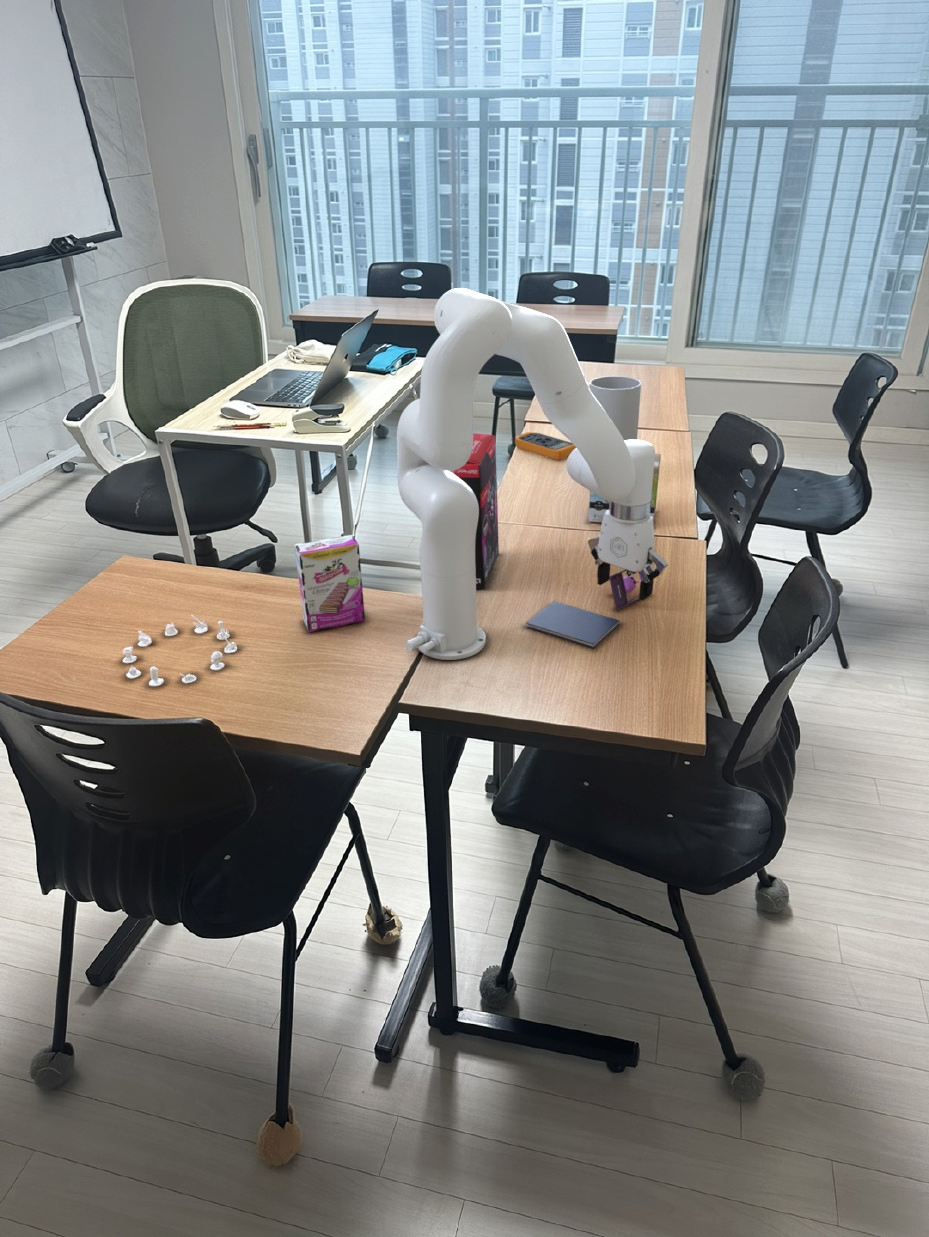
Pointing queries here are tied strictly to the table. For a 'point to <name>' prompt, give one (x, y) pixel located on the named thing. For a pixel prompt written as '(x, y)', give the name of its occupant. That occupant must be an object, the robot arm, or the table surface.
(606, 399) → the cylinder vase
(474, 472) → the graphics card box
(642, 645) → the table surface
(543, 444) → the multimeter
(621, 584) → the purple toy package
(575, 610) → the notebook
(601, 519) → the tea box
